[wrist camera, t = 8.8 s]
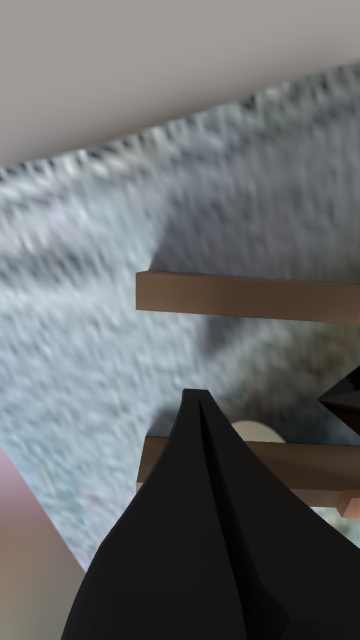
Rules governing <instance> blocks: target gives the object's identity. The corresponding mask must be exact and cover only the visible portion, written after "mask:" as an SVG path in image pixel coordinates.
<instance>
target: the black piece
mask: <svg viewBox="0 0 360 640" xmlns="http://www.w3.org/2000/svg"><path fill="white" fill-rule="evenodd" d="M318 401H319V402H320V403H321V404H323V405H324V406H325V407H326V408H327V409H328V410H330V411H331V412H332V413H333V414H334V415H336V416H337V417H338V418H339V419H340V420H341V421H343V422H344V423H345V424H346V425H347V426H349V427H350V428H351V429H352V430H353V431H354V432H356V433H357V434H358V435H359V436H360V366H359V367H357V368H356V369H355V370H354V371H352V372H351V373H350V374H348V375H347V376H346V377H345V378H343V379H342V380H341V381H340V382H338V383H337V384H336V385H334V386H333V387H332V388H331V389H329V390H328V391H327V392H326V393H324V394H323V395H322V396H320V397H319V398H318Z"/></svg>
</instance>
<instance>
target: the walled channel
mask: <svg viewBox="0 0 360 640" xmlns="http://www.w3.org/2000/svg"><path fill="white" fill-rule="evenodd" d="M136 310H145V311H161V312H176V313H192V314H207V315H223V316H238V317H254V318H269V319H285V320H300V321H316V322H331V323H347V324H360V285H350V284H335V283H321V282H307V281H292V280H278V279H264V278H249V277H235V276H221V275H206V274H192V273H178V272H163V271H149V270H148V271H143V272H138V273H136ZM168 438H169V437H151V436H145V441H144V446H143V451H142V456H141V462H140V467H139V472H138V477H137V482H136V494H137V492H138V491H139V489H140V487H141V486H142V484H143V483H144V481H145V480H146V478H147V476H148V475H149V473H150V471H151V470H152V468H153V466H154V464H155V463H156V461H157V459H158V457H159V456H160V454H161V452H162V450H163V448H164V446H165V444H166V442H167V440H168ZM244 442H245V443H246V444H247V446H248V447H249V448H250V449H251V450H252V451H253V452H254V454H255V455H256V456H257V457H258V458H259V459H260V460H261V461H262V462H263V463H264V464H265V466H266V467H267V468H268V469H269V470H270V471H271V472H272V473H273V474H274V475H275V476H276V477H277V478H278V479H280V480H281V481H282V482H283V483H284V484H285V485H286V486H287V487H288V488H289V489H290V490H291V491H292V492H293V493H294V494H295V495H296V496H297V497H298V498H300V499H301V500H302V501H303V502H304V503H305V504H306V505H307V506H309V507H334V508H337V511H338V512H339V514H340V516H341V517H342V518H360V447H359V446H338V445H318V444H297V443H275V442H255V441H244Z"/></svg>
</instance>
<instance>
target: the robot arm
mask: <svg viewBox="0 0 360 640" xmlns="http://www.w3.org/2000/svg"><path fill="white" fill-rule="evenodd" d="M61 640H360V549H359V548H358V547H357V546H356V545H354V544H353V543H352V542H351V541H349V540H348V539H347V538H346V537H344V536H343V535H342V534H341V533H340V532H338V531H337V530H336V529H335V528H333V527H332V526H331V525H330V524H328V523H327V522H326V521H325V520H324V519H322V518H321V517H320V516H319V515H318V514H317V513H315V512H314V511H313V510H312V509H311V508H310V507H309V506H307V505H306V504H305V503H304V502H303V501H302V500H301V499H300V498H298V497H297V496H296V495H295V494H294V493H293V492H292V491H291V490H290V489H289V488H288V487H287V486H286V485H285V484H284V483H283V482H282V481H281V480H280V479H278V478H277V477H276V476H275V475H274V474H273V473H272V472H271V471H270V470H269V469H268V468H267V467H266V466H265V464H264V463H263V462H262V461H261V460H260V459H259V458H258V457H257V456H256V455H255V454H254V452H253V451H252V450H251V449H250V448H249V447H248V446H247V444H246V443H245V442H244V441H243V439H242V438H241V437H240V436H239V435H238V433H237V432H236V431H235V429H234V428H233V427H232V425H231V424H230V422H229V421H228V420H227V418H226V417H225V415H224V414H223V413H222V411H221V410H220V408H219V407H218V405H217V403H216V402H215V400H214V399H213V397H212V395H211V394H210V392H209V391H208V390H201V389H184V390H183V393H182V402H181V406H180V409H179V412H178V415H177V418H176V421H175V423H174V426H173V428H172V431H171V433H170V435H169V438H168V440H167V442H166V444H165V446H164V448H163V450H162V452H161V454H160V456H159V457H158V459H157V461H156V463H155V464H154V466H153V468H152V470H151V471H150V473H149V475H148V476H147V478H146V480H145V481H144V483H143V484H142V486H141V487H140V489H139V491H138V492H137V494H136V495H135V497H134V498H133V500H132V501H131V503H130V504H129V506H128V507H127V509H126V510H125V512H124V513H123V514H122V516H121V517H120V518H119V520H118V521H117V522H116V524H115V525H114V527H113V528H112V529H111V531H110V532H109V533H108V535H107V536H106V538H105V539H104V540H103V542H102V543H101V545H100V546H99V548H98V550H97V552H96V554H95V556H94V558H93V560H92V562H91V564H90V566H89V568H88V571H87V573H86V575H85V577H84V579H83V581H82V583H81V586H80V588H79V590H78V593H77V595H76V597H75V600H74V603H73V605H72V608H71V610H70V613H69V616H68V619H67V622H66V625H65V628H64V631H63V634H62V637H61Z"/></svg>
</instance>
